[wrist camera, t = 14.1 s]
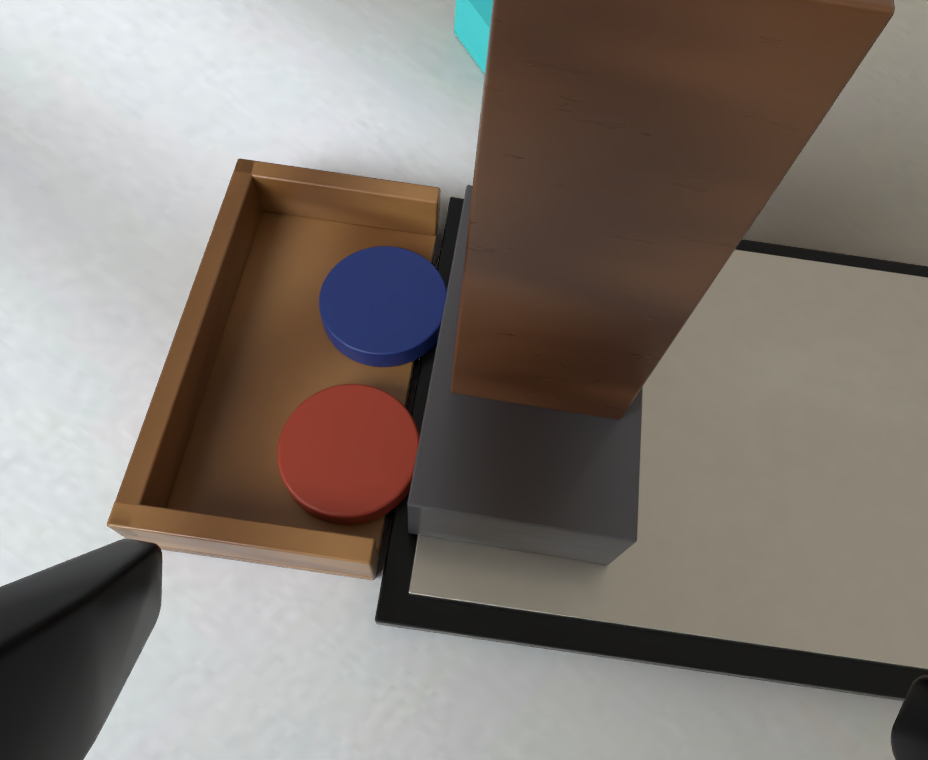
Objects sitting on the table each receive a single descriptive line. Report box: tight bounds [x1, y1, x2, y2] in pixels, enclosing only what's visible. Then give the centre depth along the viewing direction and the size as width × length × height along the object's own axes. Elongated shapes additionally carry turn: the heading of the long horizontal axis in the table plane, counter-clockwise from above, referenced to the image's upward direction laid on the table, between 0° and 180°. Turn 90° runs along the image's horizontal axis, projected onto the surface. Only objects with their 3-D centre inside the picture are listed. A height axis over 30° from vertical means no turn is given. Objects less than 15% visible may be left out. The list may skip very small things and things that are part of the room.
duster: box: [407, 0, 895, 565], centre depth 14 cm, size 5×9×13 cm, turn 172°
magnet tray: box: [107, 159, 441, 580], centre depth 19 cm, size 6×11×2 cm, turn 173°
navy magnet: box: [319, 246, 447, 367], centre depth 20 cm, size 4×4×1 cm
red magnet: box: [277, 384, 420, 525], centre depth 18 cm, size 4×4×1 cm
